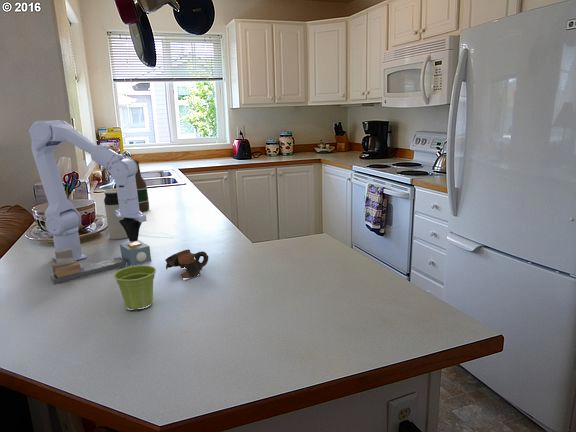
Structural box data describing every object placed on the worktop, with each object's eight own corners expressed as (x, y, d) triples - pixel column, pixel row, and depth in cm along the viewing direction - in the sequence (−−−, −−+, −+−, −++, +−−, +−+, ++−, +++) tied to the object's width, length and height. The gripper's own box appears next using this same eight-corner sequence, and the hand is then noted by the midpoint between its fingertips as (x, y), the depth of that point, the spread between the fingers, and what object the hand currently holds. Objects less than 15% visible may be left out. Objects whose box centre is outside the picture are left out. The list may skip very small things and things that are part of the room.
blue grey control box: (122, 259, 135) (119, 244, 134) (140, 254, 139) (138, 240, 138) (132, 266, 128) (130, 250, 127) (151, 261, 132) (149, 246, 131)
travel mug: (117, 241, 155) (110, 192, 151) (105, 237, 160) (98, 191, 155) (136, 235, 161) (130, 189, 157) (124, 232, 166) (118, 187, 161)
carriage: (52, 272, 121) (48, 250, 119) (75, 266, 125) (71, 245, 123) (58, 277, 117) (53, 255, 115) (81, 271, 120) (77, 250, 119)
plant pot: (145, 294, 108) (141, 262, 106) (167, 303, 102) (163, 270, 100) (111, 308, 101) (105, 274, 99) (132, 319, 95) (127, 283, 93)
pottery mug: (173, 286, 114) (161, 258, 115) (174, 288, 123) (163, 262, 123) (215, 267, 117) (202, 240, 118) (212, 271, 126) (201, 246, 127)
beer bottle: (131, 209, 205) (125, 160, 199) (148, 207, 208) (142, 159, 202) (133, 213, 198) (126, 162, 192) (150, 210, 201) (144, 160, 195)
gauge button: (129, 254, 133) (127, 243, 132) (138, 252, 135) (137, 241, 134) (132, 256, 131) (131, 245, 130) (142, 254, 133) (140, 243, 132)
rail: (50, 279, 121) (49, 274, 120) (121, 261, 133) (120, 256, 133) (54, 284, 117) (53, 279, 116) (126, 265, 129) (126, 260, 129)
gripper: (103, 198, 130) (109, 240, 134) (128, 203, 121) (134, 248, 124) (124, 194, 135) (130, 234, 139) (150, 199, 126) (155, 242, 130)
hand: (133, 241), depth 132 cm, fingers closed
